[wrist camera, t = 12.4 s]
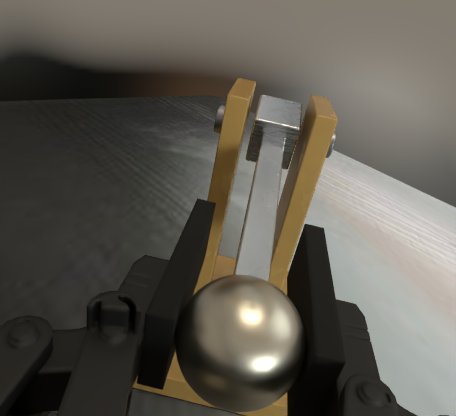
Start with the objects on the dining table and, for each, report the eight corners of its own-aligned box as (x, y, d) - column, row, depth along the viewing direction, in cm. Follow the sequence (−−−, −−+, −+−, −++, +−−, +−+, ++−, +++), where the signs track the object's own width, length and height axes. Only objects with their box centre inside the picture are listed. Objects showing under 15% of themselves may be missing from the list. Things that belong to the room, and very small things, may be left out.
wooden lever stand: (297, 428, 21) (420, 163, 14) (119, 384, 22) (145, 100, 14) (293, 287, 32) (362, 94, 24) (174, 259, 32) (205, 58, 25)
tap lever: (282, 447, 11) (324, 390, 8) (155, 415, 11) (161, 350, 8) (299, 154, 22) (319, 95, 20) (237, 139, 22) (250, 79, 20)
